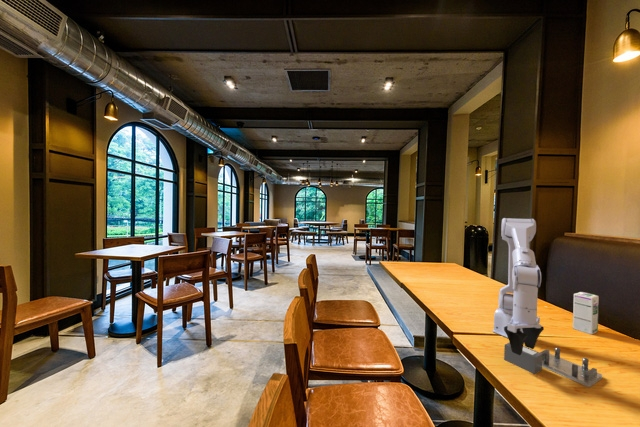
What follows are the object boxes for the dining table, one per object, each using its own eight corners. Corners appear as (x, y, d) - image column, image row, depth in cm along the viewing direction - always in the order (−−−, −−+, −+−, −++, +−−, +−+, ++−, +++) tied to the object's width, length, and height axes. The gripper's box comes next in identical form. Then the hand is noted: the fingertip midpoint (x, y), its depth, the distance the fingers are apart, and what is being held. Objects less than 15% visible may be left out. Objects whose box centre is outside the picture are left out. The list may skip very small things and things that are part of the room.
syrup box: (592, 335, 100) (594, 297, 99) (571, 328, 105) (573, 292, 105) (598, 332, 102) (599, 295, 102) (577, 325, 108) (579, 291, 107)
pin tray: (531, 361, 81) (532, 349, 81) (545, 354, 85) (546, 342, 85) (589, 387, 70) (590, 373, 70) (602, 378, 74) (602, 364, 74)
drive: (504, 360, 82) (504, 344, 82) (511, 356, 84) (511, 341, 84) (534, 374, 75) (535, 357, 75) (541, 370, 77) (542, 353, 77)
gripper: (528, 314, 72) (526, 363, 72) (552, 306, 79) (550, 351, 79) (500, 306, 78) (498, 350, 79) (525, 299, 85) (523, 340, 85)
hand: (523, 350), depth 79 cm, fingers open, 7 cm apart
